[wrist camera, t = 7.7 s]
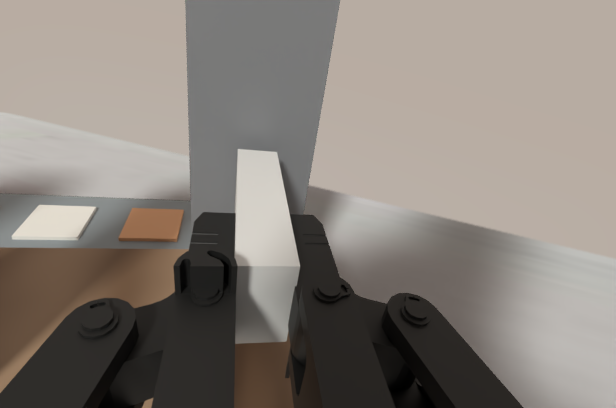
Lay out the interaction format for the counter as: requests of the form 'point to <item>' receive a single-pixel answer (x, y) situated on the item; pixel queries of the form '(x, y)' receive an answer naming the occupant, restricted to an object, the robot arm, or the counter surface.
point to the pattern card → (93, 222)
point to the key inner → (254, 91)
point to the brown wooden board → (112, 284)
